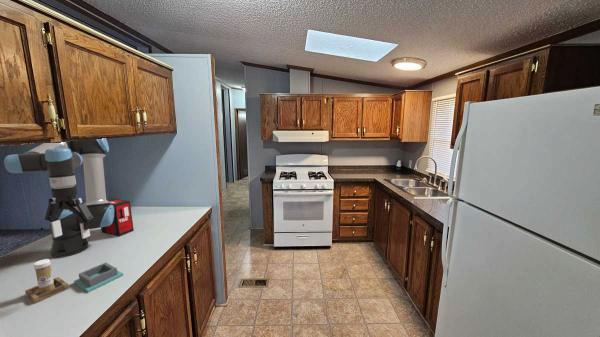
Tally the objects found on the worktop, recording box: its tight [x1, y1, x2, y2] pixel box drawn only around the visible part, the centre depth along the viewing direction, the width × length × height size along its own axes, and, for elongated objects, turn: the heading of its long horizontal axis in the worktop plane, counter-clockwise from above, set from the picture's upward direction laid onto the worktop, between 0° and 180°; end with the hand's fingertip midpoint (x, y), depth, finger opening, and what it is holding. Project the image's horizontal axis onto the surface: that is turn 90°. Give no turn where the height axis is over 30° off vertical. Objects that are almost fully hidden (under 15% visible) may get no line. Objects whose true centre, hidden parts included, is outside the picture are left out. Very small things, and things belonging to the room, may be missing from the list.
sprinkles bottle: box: [33, 258, 56, 295], centre depth 98 cm, size 5×5×14 cm
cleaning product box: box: [100, 198, 135, 237], centre depth 154 cm, size 16×9×20 cm, turn 70°
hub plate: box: [73, 262, 124, 293], centre depth 107 cm, size 13×13×4 cm
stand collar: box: [24, 276, 70, 304], centre depth 99 cm, size 10×10×2 cm
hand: (72, 236), depth 101 cm, fingers open, 13 cm apart
